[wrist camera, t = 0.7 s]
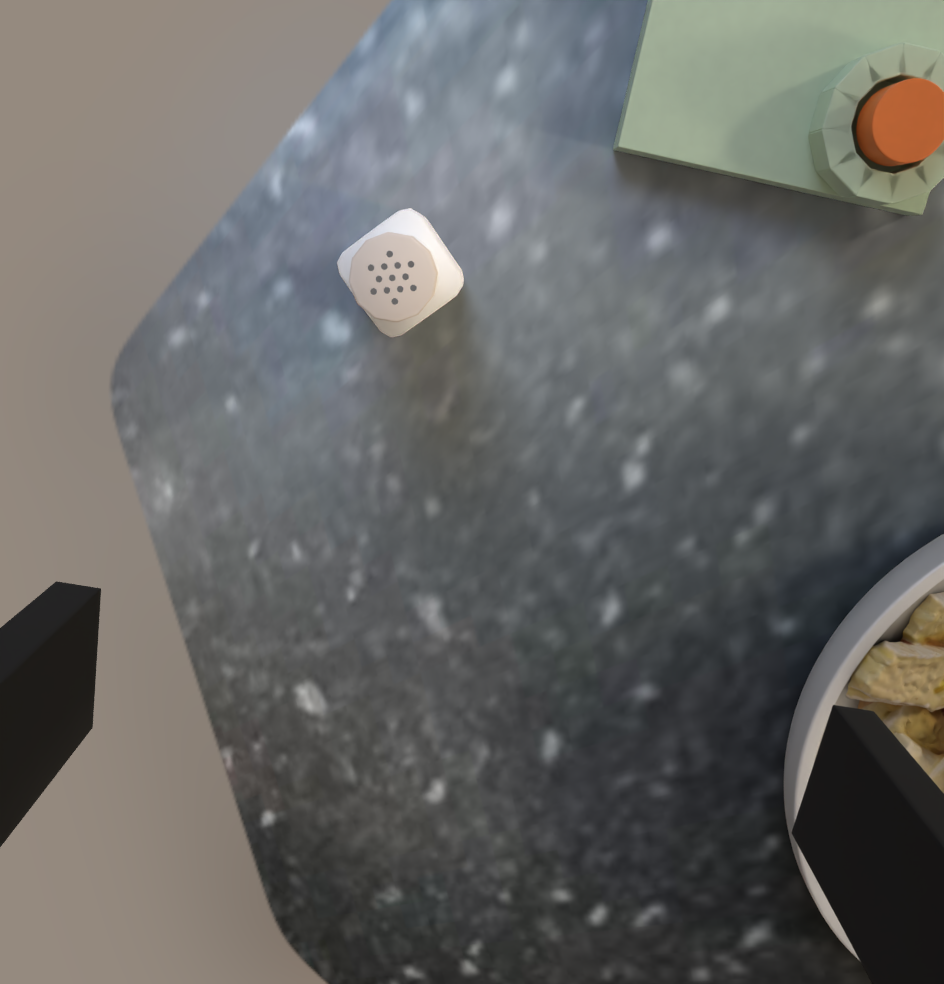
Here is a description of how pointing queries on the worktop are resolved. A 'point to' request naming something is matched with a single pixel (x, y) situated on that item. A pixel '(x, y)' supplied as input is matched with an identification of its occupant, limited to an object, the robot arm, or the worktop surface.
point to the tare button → (902, 122)
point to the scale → (782, 92)
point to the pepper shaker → (400, 272)
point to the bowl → (877, 684)
